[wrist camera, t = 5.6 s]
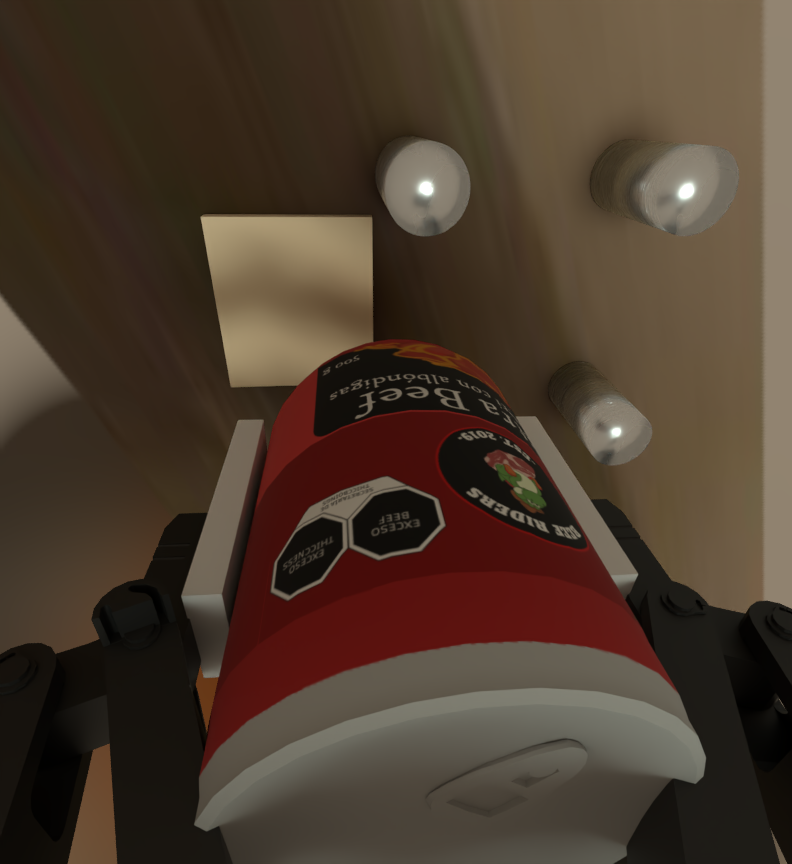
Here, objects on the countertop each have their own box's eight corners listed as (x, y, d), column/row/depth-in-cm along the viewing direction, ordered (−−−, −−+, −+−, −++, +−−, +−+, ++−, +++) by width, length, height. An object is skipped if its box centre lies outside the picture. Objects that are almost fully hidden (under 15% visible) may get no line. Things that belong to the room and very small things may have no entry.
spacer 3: (643, 211, 29) (720, 236, 23) (583, 211, 29) (646, 236, 23) (661, 139, 27) (751, 146, 21) (598, 138, 27) (671, 145, 21)
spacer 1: (439, 211, 28) (466, 236, 22) (375, 210, 28) (384, 236, 22) (443, 136, 26) (474, 142, 20) (374, 135, 26) (385, 140, 20)
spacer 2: (592, 407, 36) (642, 464, 30) (543, 408, 36) (584, 466, 30) (604, 360, 34) (660, 412, 28) (553, 362, 34) (598, 414, 28)
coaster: (372, 377, 33) (373, 383, 32) (233, 381, 32) (231, 387, 31) (371, 214, 28) (372, 217, 27) (204, 214, 27) (200, 216, 26)
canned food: (550, 390, 16) (825, 749, 7) (425, 551, 20) (502, 934, 11) (336, 281, 14) (335, 623, 5) (236, 488, 17) (121, 920, 8)
